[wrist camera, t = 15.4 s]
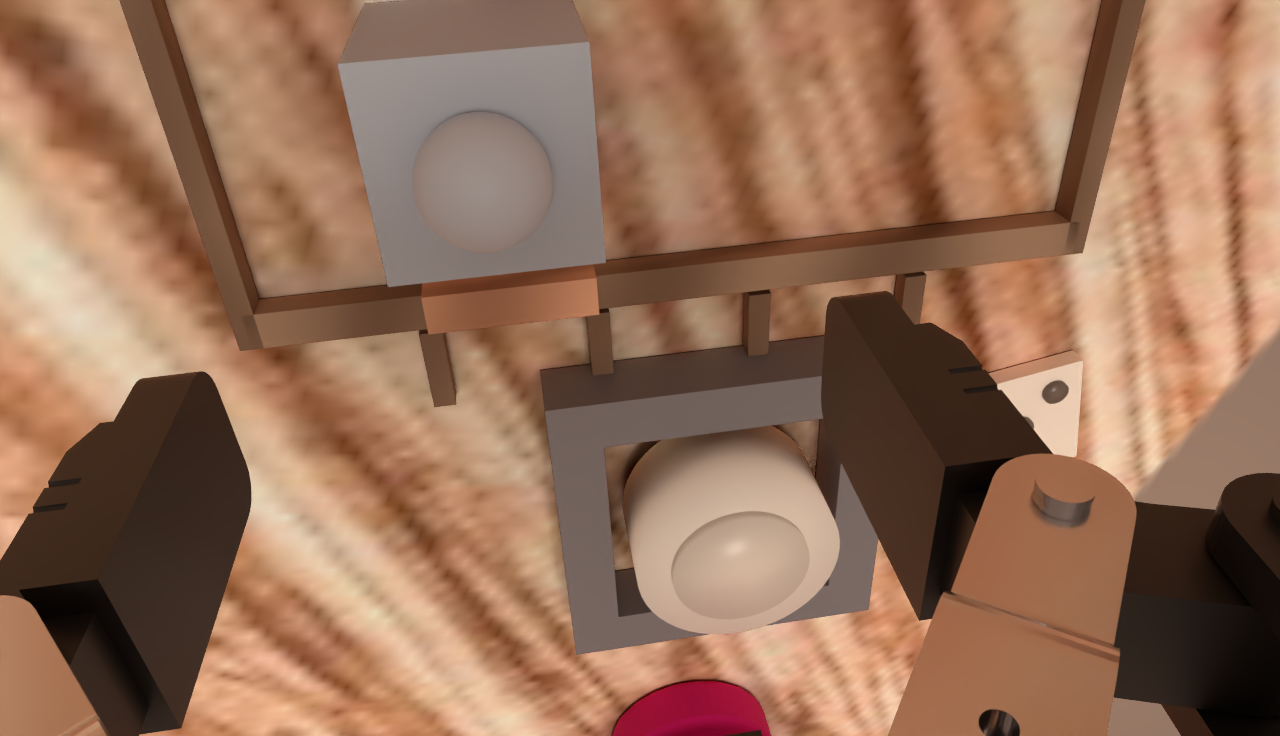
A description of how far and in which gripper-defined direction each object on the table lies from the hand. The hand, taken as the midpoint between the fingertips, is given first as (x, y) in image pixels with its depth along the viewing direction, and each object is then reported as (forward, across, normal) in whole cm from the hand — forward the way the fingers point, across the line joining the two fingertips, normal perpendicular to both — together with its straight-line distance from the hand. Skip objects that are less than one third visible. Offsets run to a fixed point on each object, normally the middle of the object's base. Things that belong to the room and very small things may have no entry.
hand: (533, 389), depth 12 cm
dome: (+11, -5, +13) cm, 18 cm away
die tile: (+12, -15, +12) cm, 22 cm away
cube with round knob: (+12, +1, 0) cm, 12 cm away
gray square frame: (+12, -5, +13) cm, 18 cm away
